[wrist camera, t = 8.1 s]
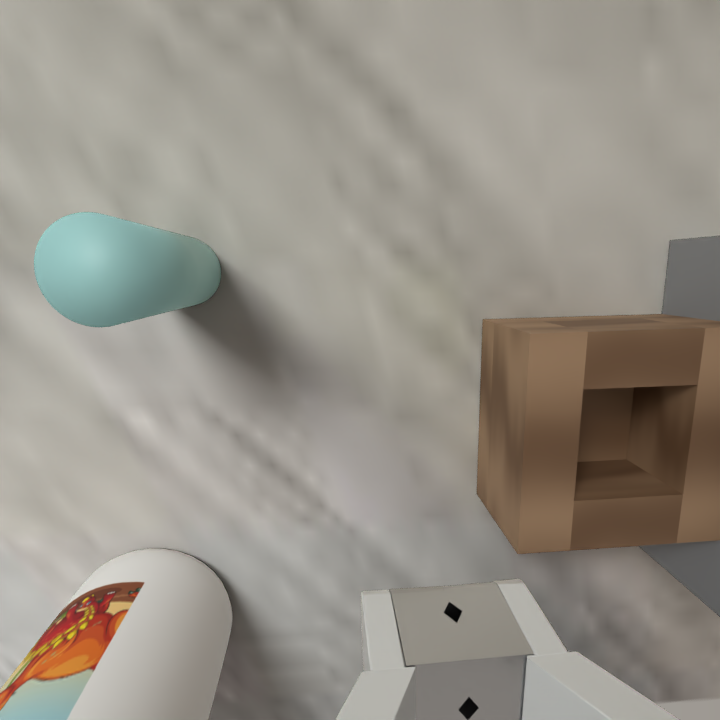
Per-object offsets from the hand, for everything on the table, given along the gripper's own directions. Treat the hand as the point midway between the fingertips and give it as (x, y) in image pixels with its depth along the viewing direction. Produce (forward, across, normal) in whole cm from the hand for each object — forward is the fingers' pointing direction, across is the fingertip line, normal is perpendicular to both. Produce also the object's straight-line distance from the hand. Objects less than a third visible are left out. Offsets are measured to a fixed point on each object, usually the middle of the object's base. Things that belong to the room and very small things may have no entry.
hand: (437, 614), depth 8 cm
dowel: (+14, +8, -6) cm, 17 cm away
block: (+13, -10, +1) cm, 17 cm away
